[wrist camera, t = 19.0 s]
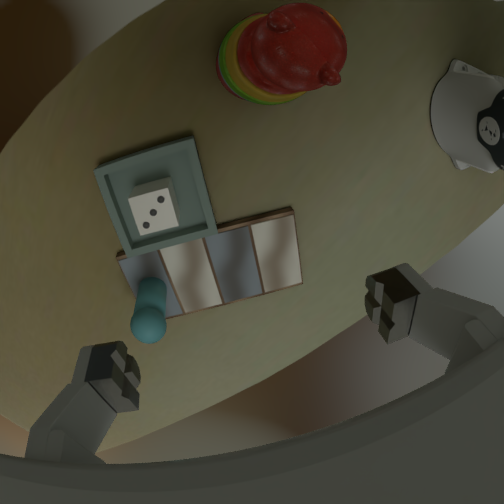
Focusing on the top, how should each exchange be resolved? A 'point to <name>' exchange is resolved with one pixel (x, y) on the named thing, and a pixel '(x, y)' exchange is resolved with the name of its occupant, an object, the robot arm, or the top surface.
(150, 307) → the pawn
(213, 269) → the board
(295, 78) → the stacking bear
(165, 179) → the die
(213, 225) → the tray
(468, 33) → the top surface
